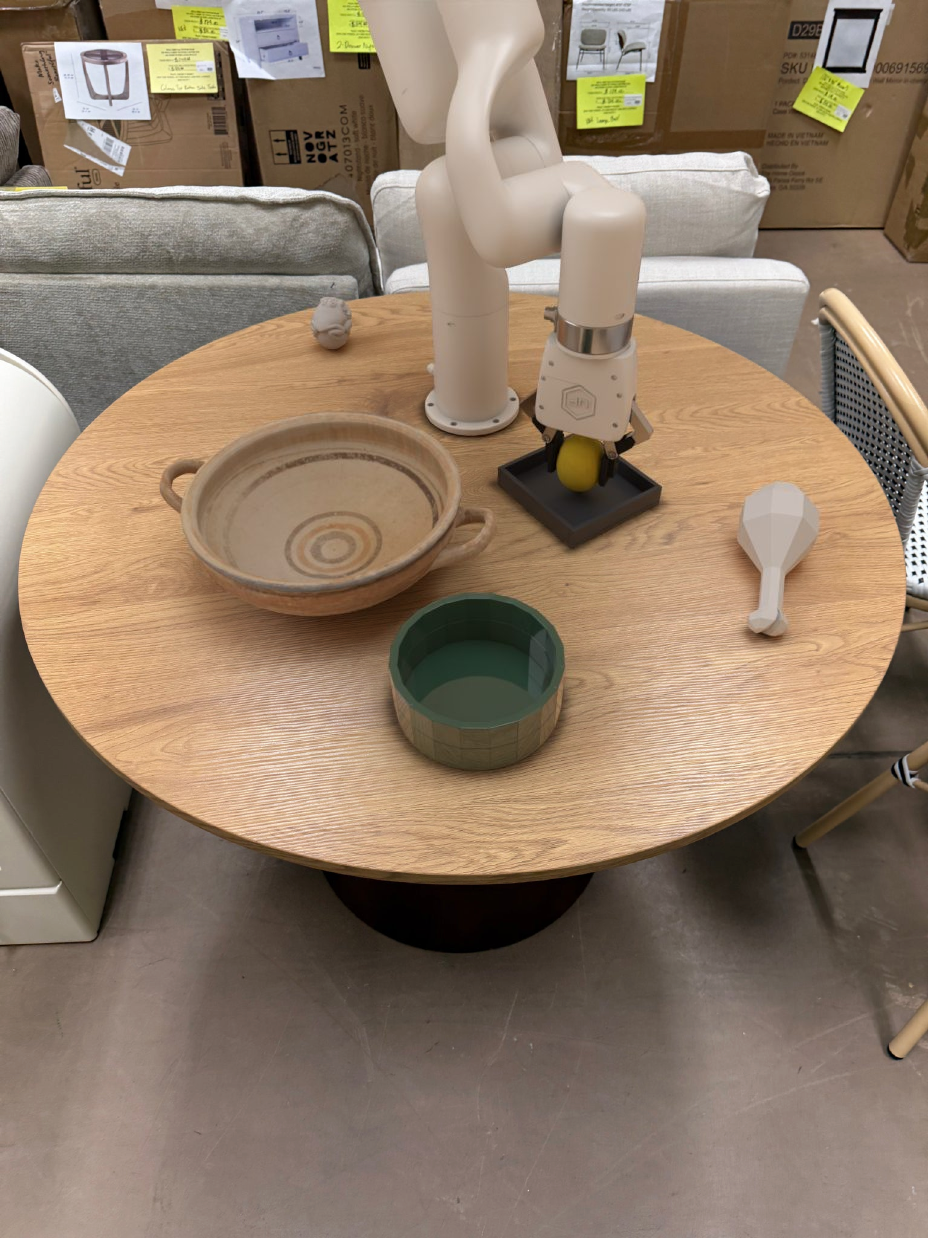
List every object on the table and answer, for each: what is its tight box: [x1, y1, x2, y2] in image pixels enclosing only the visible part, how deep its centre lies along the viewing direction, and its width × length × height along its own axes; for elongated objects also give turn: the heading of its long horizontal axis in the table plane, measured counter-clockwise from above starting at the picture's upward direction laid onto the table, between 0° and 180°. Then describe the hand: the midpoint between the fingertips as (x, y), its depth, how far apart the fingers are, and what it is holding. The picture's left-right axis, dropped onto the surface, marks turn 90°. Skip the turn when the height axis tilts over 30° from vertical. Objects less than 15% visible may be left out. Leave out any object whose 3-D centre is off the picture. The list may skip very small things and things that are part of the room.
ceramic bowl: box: [159, 410, 498, 617], centre depth 87 cm, size 37×29×10 cm
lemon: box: [556, 434, 604, 492], centre depth 93 cm, size 6×6×8 cm
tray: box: [496, 433, 663, 550], centre depth 96 cm, size 14×13×3 cm
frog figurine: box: [310, 296, 353, 350], centre depth 119 cm, size 6×7×7 cm
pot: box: [388, 592, 566, 771], centre depth 75 cm, size 16×16×6 cm
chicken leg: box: [736, 480, 820, 637], centre depth 84 cm, size 8×18×8 cm, turn 165°
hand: (579, 471), depth 94 cm, fingers closed on lemon, 5 cm apart
